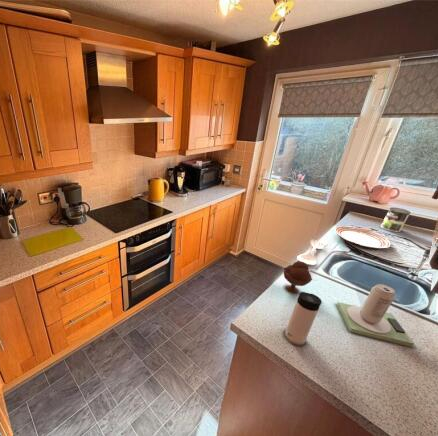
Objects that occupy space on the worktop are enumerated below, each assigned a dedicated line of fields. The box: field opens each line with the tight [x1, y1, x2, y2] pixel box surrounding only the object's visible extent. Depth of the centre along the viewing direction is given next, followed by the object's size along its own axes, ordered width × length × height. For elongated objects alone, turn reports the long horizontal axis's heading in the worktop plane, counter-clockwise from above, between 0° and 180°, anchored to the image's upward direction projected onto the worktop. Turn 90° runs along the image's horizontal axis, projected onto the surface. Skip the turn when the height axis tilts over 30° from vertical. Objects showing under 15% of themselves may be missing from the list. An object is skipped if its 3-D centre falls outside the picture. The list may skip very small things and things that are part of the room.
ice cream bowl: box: [283, 260, 313, 295], centre depth 103 cm, size 11×11×15 cm
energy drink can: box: [359, 283, 396, 324], centre depth 85 cm, size 6×6×15 cm
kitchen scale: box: [336, 301, 415, 348], centre depth 88 cm, size 18×14×3 cm
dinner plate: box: [334, 225, 392, 249], centre depth 147 cm, size 28×27×3 cm
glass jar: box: [380, 207, 411, 233], centre depth 159 cm, size 10×10×14 cm
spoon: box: [296, 237, 329, 266], centre depth 132 cm, size 9×32×4 cm, turn 133°
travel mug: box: [284, 291, 322, 346], centre depth 79 cm, size 6×7×20 cm
